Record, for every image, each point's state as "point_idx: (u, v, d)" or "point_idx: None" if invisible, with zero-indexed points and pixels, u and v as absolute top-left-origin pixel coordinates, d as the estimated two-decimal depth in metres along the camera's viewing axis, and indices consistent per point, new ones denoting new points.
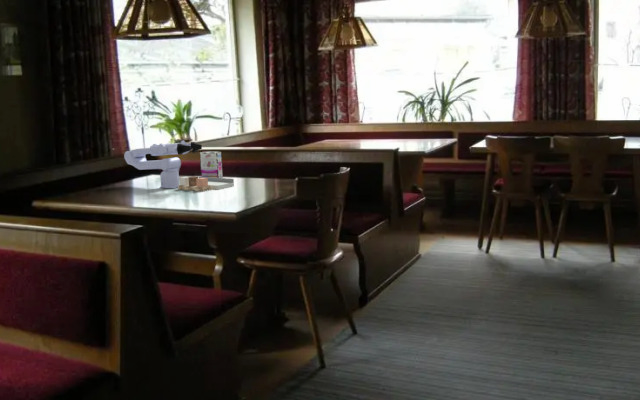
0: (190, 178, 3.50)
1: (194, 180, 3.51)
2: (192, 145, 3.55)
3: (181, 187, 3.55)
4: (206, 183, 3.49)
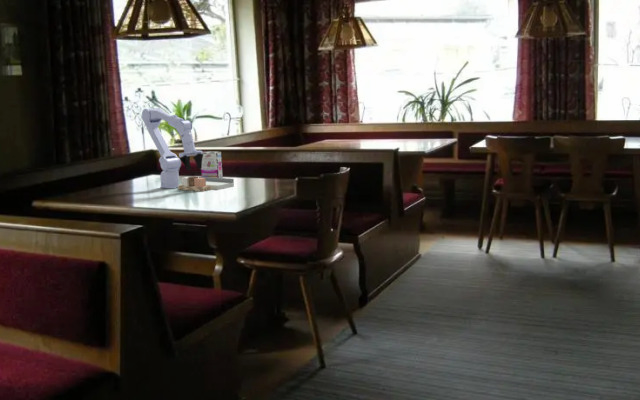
0: (190, 178, 3.50)
1: None
2: (198, 157, 3.53)
3: (181, 187, 3.55)
4: (204, 183, 3.50)
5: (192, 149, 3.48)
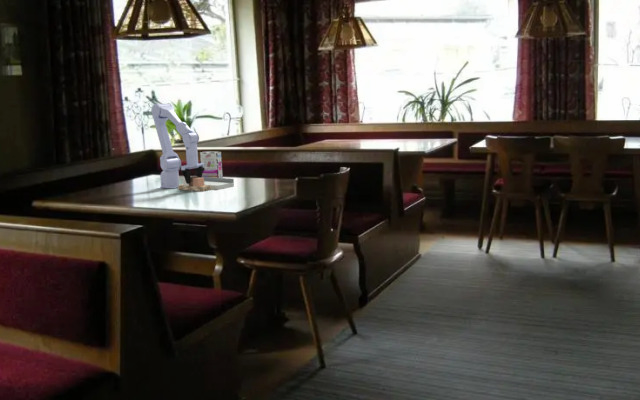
0: (190, 178, 3.50)
1: None
2: (199, 170, 3.54)
3: (181, 187, 3.55)
4: (202, 183, 3.50)
5: (195, 163, 3.49)
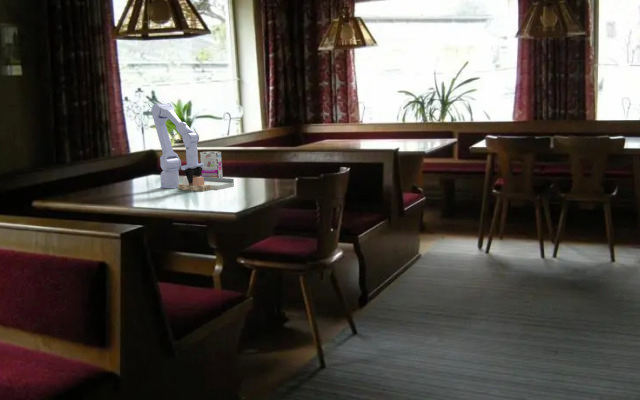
0: None
1: None
2: (197, 170, 3.53)
3: (181, 186, 3.54)
4: (202, 182, 3.50)
5: (195, 163, 3.49)
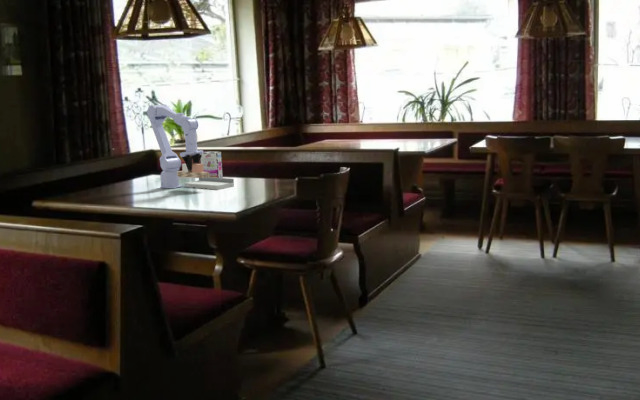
0: None
1: None
2: (196, 157, 3.51)
3: (180, 173, 3.53)
4: (202, 169, 3.49)
5: (194, 150, 3.47)
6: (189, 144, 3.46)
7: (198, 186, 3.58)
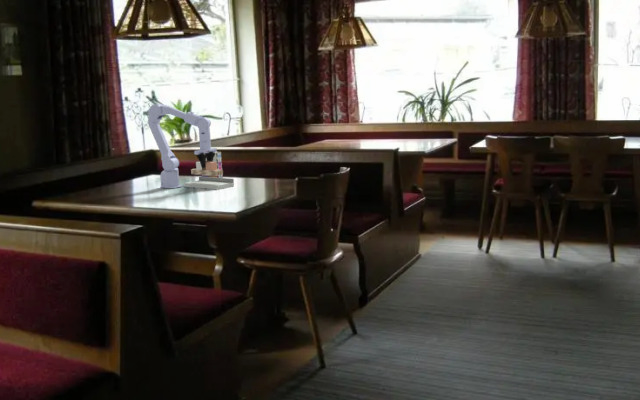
0: None
1: None
2: (210, 155, 3.59)
3: (194, 171, 3.61)
4: (215, 167, 3.57)
5: (208, 148, 3.55)
6: (203, 142, 3.54)
7: (198, 186, 3.58)
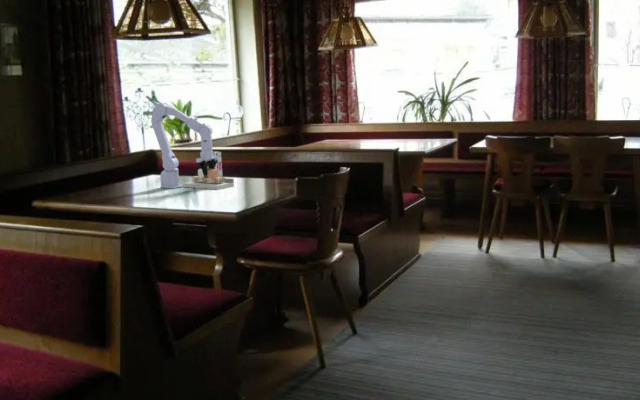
0: None
1: None
2: (212, 162, 3.61)
3: (196, 179, 3.63)
4: (217, 174, 3.58)
5: (210, 156, 3.57)
6: (205, 150, 3.56)
7: (198, 186, 3.58)
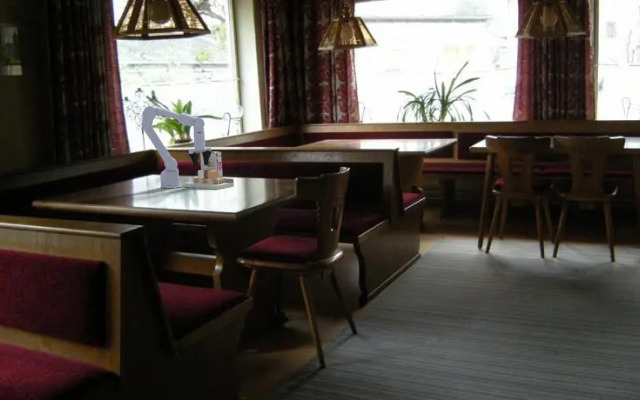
0: (205, 171, 3.59)
1: None
2: (206, 154, 3.67)
3: (196, 180, 3.63)
4: (217, 175, 3.59)
5: (202, 147, 3.62)
6: (197, 141, 3.61)
7: (198, 186, 3.58)
